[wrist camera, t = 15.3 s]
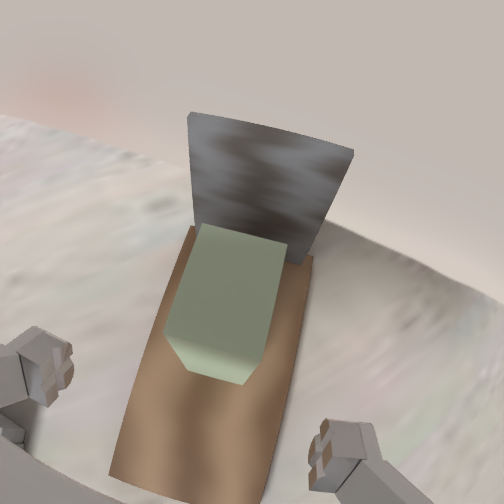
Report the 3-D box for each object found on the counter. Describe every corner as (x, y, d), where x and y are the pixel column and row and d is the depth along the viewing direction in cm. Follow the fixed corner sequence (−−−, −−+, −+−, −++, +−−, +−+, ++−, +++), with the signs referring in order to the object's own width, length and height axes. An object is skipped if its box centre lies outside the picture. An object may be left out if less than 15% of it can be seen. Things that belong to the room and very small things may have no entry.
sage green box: (259, 316, 27) (287, 244, 16) (242, 385, 24) (261, 360, 13) (207, 303, 27) (202, 222, 16) (187, 370, 24) (162, 332, 14)
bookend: (308, 265, 32) (369, 147, 18) (253, 511, 20) (293, 603, 6) (192, 236, 32) (180, 103, 18) (115, 471, 20) (11, 512, 7)
